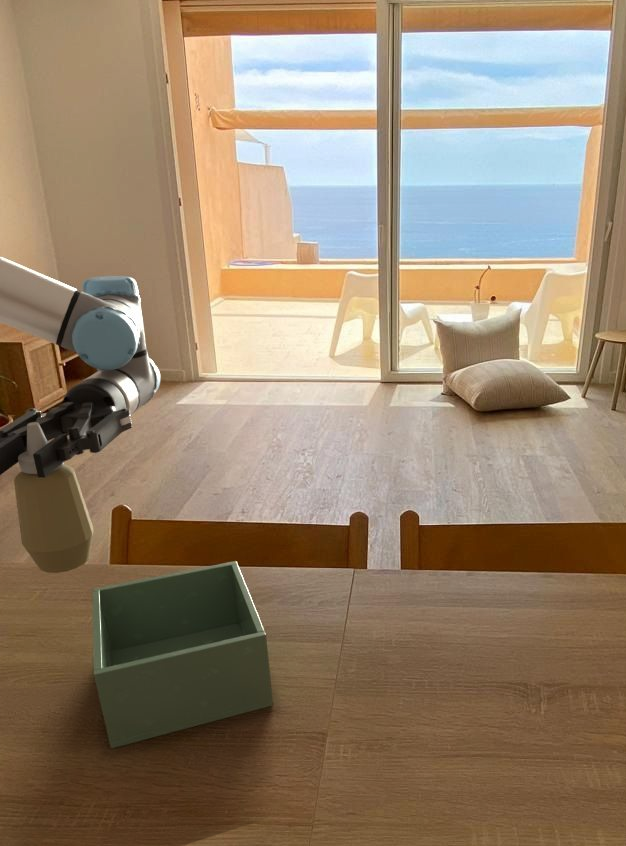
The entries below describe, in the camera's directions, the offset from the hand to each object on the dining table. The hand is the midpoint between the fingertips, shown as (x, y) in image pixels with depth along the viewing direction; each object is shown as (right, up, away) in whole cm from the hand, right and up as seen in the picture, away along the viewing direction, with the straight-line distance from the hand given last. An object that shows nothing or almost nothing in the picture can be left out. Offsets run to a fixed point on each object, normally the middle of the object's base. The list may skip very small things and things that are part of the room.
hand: (15, 465), depth 75 cm
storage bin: (+16, -25, +9) cm, 31 cm away
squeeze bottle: (0, -12, +11) cm, 16 cm away
